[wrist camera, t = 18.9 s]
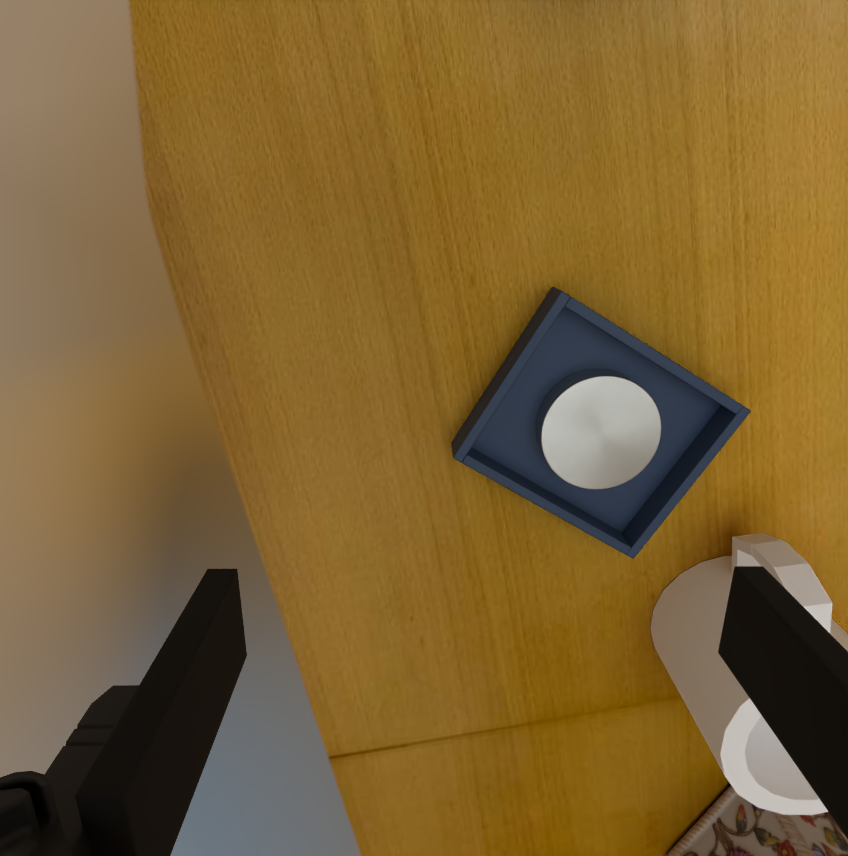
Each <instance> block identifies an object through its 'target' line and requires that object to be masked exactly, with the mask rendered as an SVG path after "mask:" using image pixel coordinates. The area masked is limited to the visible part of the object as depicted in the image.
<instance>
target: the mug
mask: <svg viewBox="0 0 848 856" xmlns="http://www.w3.org/2000/svg"><path fill="white" fill-rule="evenodd" d="M734 566H763V567H764V568H765V569H766V570H767V571H768V572H769V573H770V574H771V575H772V576H773V577H774V578H775V579H776V580H777V581H778V582H779V583H780V584H781V585H782V586H783V587H784V588H785V589H786V590H787V591H788V592H789V593H790V594H791V595H792V596H793V597H794V598H795V599H796V600H797V601H798V602H799V603H800V604H801V605H802V606H803V607H804V608H805V609H806V610H807V611H808V612H809V613H810V614H811V615H812V616H813V617H814V618H815V619H816V620H817V621H818V622H819V623H820V624H821V625H822V626H823V627H824V628H825V629H826V630H827V631H828V632H829V633H830V634H831V635H832V636H833V637H834V638H835V639H836V640H837V641H838V642H839V643H840V644H841V645H842V646H843V647H844V648H845V649H846V650H847V651H848V634H847V633H846V632H845V631H844V630H843V629H842V628H841V627H840V626H839V625H838V624H837V623H835V622H834V621H833V620H832V619H831V615H832V601H831V600H830V598H829V596H828V595H827V593H826V591H825V590H824V588H823V586H822V585H821V583H820V581H819V580H818V578H817V576H816V575H815V573H814V571H813V570H812V568H811V566H810V565H809V563H808V562H807V561H806V560H805V559H804V558H802V557H801V556H800V555H799V554H798V553H797V552H796V551H795V550H794V549H793V548H792V547H791V546H790V545H789V544H788V543H787V542H785V541H784V540H781V539H779V538H776V537H773V536H770V535H767V534H765V533H757V534H749V535H741V536H733V537H732V556H722V557H719V558H715V559H711V560H707V561H703V562H700V563H699V564H697V565H695V566H693V567H692V568H690V569H688V570H686V571H684V572H683V573H681V574H680V575H679V576H678V577H677V578H675V579H674V580H673V581H672V582H671V583H670V584H669V585H668V586H667V587H666V588H665V589H664V590H663V592H662V594H661V596H660V598H659V600H658V602H657V603H656V605H655V607H654V609H653V615H652V621H651V628H650V630H651V634H652V639H653V643H654V647H655V649H656V651H657V653H658V655H659V657H660V658H661V660H662V662H663V664H664V666H665V668H666V669H667V671H668V673H669V675H670V677H671V679H672V680H673V682H674V684H675V686H676V688H677V690H678V691H679V693H680V695H681V697H682V699H683V701H684V702H685V704H686V706H687V708H688V710H689V711H690V713H691V715H692V717H693V719H694V721H695V722H696V724H697V726H698V728H699V730H700V732H701V733H702V735H703V737H704V739H705V741H706V743H707V744H708V746H709V748H710V750H711V752H712V754H713V755H714V757H715V759H716V761H717V763H718V765H719V766H720V768H721V770H722V772H723V774H724V776H725V777H726V778H727V780H728V781H729V783H730V784H731V785H732V787H733V788H734V790H735V791H736V793H737V794H738V795H740V796H741V797H743V798H744V799H746V800H747V801H749V802H750V803H752V804H753V805H755V806H756V807H758V808H761V809H765V810H769V811H772V812H776V813H779V814H783V815H815V814H820V813H824V812H828V810H827V809H826V807H825V806H824V805H823V803H822V802H821V800H820V799H819V797H818V796H817V794H816V793H815V792H814V790H813V789H812V787H811V786H810V784H809V783H808V781H807V780H806V779H805V777H804V776H803V774H802V773H801V771H800V770H799V768H798V767H797V766H796V764H795V763H794V761H793V760H792V758H791V757H790V756H789V754H788V753H787V751H786V750H785V748H784V747H783V745H782V744H781V743H780V741H779V740H778V738H777V737H776V735H775V734H774V732H773V731H772V730H771V728H770V727H769V725H768V724H767V722H766V721H765V720H764V718H763V717H762V715H761V714H760V712H759V711H758V709H757V708H756V707H755V705H754V704H753V702H752V701H751V699H750V698H749V696H748V695H747V694H746V692H745V691H744V689H743V688H742V686H741V685H740V683H739V682H738V681H737V679H736V678H735V676H734V675H733V673H732V672H731V671H730V669H729V668H728V666H727V665H726V663H725V662H724V660H723V659H722V658H721V656H720V655H719V653H718V649H719V644H720V639H721V634H722V628H723V623H724V618H725V613H726V608H727V603H728V597H729V592H730V587H731V582H732V577H733V572H734Z"/></svg>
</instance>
